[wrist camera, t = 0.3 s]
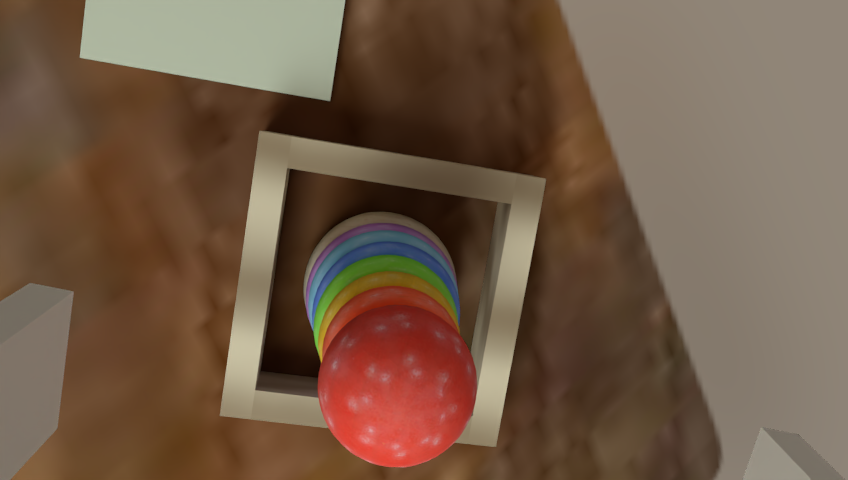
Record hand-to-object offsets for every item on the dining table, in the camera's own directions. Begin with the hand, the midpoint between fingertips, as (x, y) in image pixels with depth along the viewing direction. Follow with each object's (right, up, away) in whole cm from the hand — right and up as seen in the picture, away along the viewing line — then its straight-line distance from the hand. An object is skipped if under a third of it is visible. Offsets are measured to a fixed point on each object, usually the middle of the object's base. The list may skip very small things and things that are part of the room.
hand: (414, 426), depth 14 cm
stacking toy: (-2, +1, +26) cm, 26 cm away
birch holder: (-2, +1, +26) cm, 26 cm away
